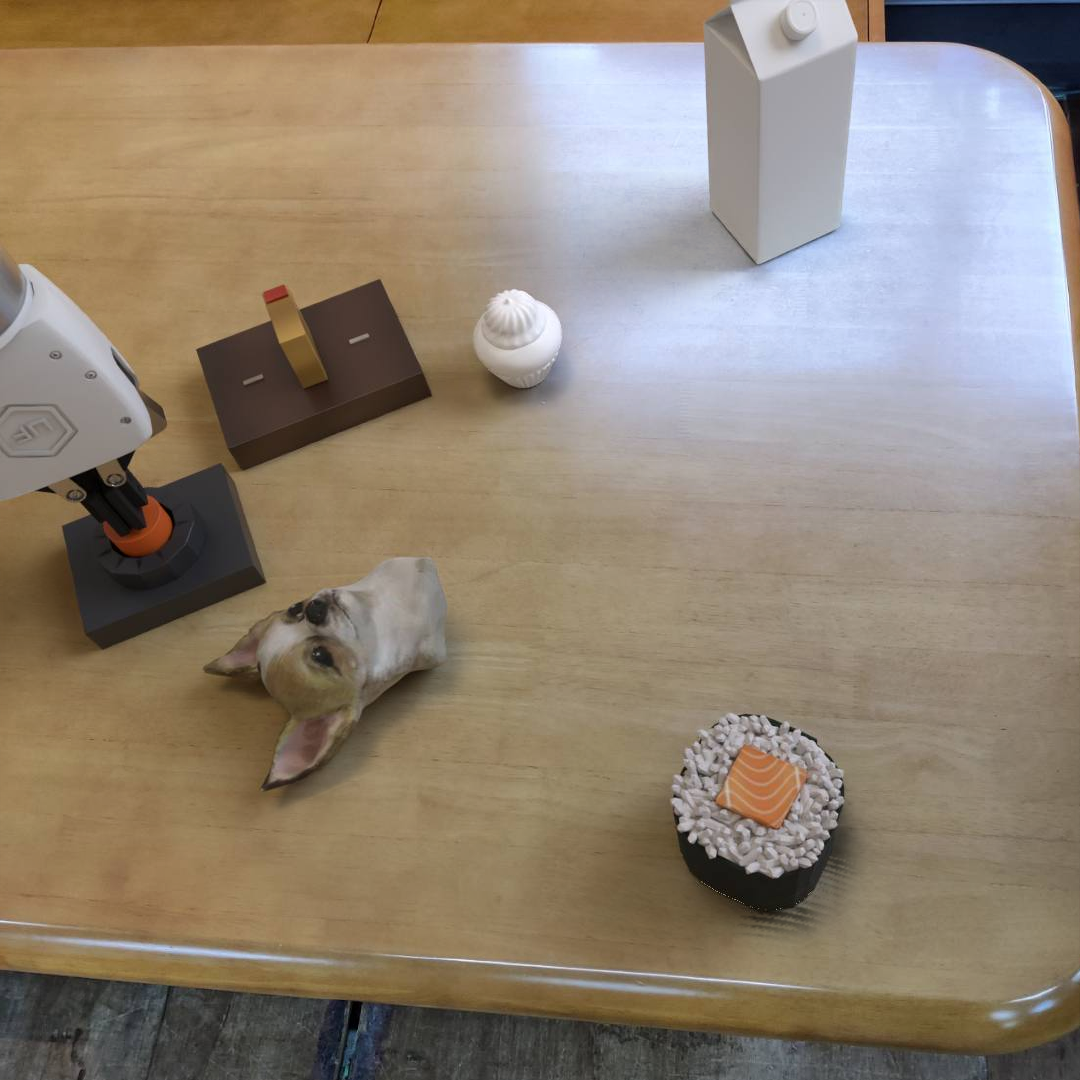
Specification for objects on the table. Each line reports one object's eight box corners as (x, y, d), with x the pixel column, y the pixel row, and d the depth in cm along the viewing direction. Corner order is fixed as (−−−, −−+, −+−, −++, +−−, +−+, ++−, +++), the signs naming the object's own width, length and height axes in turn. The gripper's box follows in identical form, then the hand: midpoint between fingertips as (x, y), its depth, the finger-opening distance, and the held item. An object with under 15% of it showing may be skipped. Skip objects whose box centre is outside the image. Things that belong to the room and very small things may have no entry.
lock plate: (242, 471, 76) (226, 447, 73) (210, 372, 80) (194, 347, 78) (432, 396, 77) (422, 370, 75) (389, 303, 82) (379, 276, 80)
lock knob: (328, 379, 76) (304, 331, 71) (303, 389, 75) (277, 340, 71) (309, 331, 78) (285, 281, 74) (285, 340, 78) (259, 290, 74)
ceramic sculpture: (466, 611, 58) (216, 766, 56) (506, 677, 66) (287, 816, 64) (381, 479, 63) (148, 617, 61) (427, 555, 71) (222, 680, 69)
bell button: (122, 566, 68) (108, 551, 67) (112, 522, 70) (98, 507, 69) (178, 543, 69) (165, 528, 67) (166, 501, 71) (153, 485, 69)
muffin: (524, 419, 76) (505, 349, 69) (465, 376, 78) (441, 304, 72) (587, 365, 77) (574, 292, 71) (527, 324, 80) (509, 250, 74)
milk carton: (709, 210, 83) (700, -42, 67) (789, 174, 84) (801, -83, 68) (757, 267, 80) (760, 18, 64) (840, 229, 81) (865, -26, 65)
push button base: (102, 650, 70) (68, 620, 66) (78, 543, 74) (46, 510, 71) (266, 582, 71) (242, 549, 68) (234, 481, 75) (209, 445, 72)
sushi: (718, 743, 63) (714, 683, 56) (855, 803, 61) (870, 749, 54) (654, 868, 60) (642, 821, 53) (797, 937, 57) (804, 898, 50)
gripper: (-219, 410, 49) (20, 610, 65) (105, 289, 51) (260, 513, 67) (-225, 301, 53) (4, 516, 69) (78, 191, 54) (232, 426, 70)
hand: (130, 514), depth 68 cm, fingers closed
